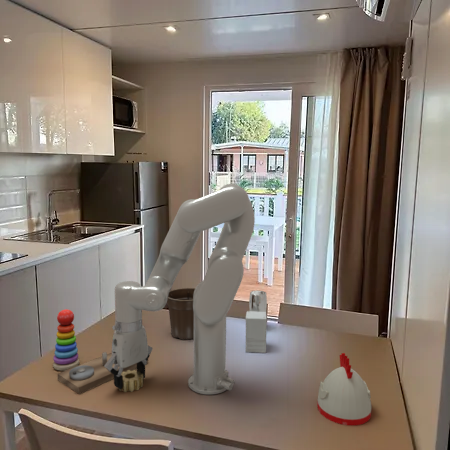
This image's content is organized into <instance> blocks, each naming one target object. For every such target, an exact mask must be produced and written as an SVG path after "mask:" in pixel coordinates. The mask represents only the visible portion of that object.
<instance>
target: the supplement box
mask: <svg viewBox="0 0 450 450" xmlns="http://www.w3.org/2000/svg"><path fill="white" fill-rule="evenodd" d="M267 318H268V317H267V311H266V312H255V311H250V310H247V311H246V313H245V353H260V354H261V353H262V354H266V353H267Z"/></svg>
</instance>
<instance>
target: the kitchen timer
mask: <svg viewBox="0 0 450 450" xmlns="http://www.w3.org/2000/svg"><path fill="white" fill-rule="evenodd" d="M339 365H340V366H339V367H337V368H335V369H333V370H332V371H330V373H329V374H327V376H326V377H325V378H324V380H323V381H321V380H320V383H319V387H318V396H317V400H316V403H317V405H316V407H317V411H318V412H319V414H320V415H322V416H323V417H324V418H325V419H327V420H329V421H331V422H333V423H336V424H339V425H344V426H360V425H364V424H365V423H367V422H369V421H370V419H371V417H372V402H371V390H369V387H368V385H367V383H366V381H365V380H364V379H363V377H361V375H360V374H359V373H358V372H357V371H355V370H354V369H353V368H352V365H351V364H350V358H349V357H348V355H346V353H345V352H343V353H341V354H340V355H339Z"/></svg>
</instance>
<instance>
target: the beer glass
mask: <svg viewBox="0 0 450 450" xmlns="http://www.w3.org/2000/svg"><path fill="white" fill-rule="evenodd" d="M267 298H268V297H267V292H266V291H264V290H257V289H256V290H252V291H251V290H250V291H249V300H248V301H249V303H248V305H249V306H248V307H249V311H255V312H266V313H267V303H268V300H267Z"/></svg>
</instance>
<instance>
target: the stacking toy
mask: <svg viewBox="0 0 450 450" xmlns="http://www.w3.org/2000/svg"><path fill="white" fill-rule="evenodd" d="M56 318H57V319H56V320H57V322H58V325H57V329H56V330H57V332H56V338H55V342H56V344H55V345H54V347H55V350H54V355H53V358H52V359H53V363H52V367H53V368H54V370H57V371H61V372H63V371H66V370H68V369H71V368H73V367H76V366H79V365H80V358H79V354H78V351H79V349H78V347H77V345H78V343H77V342H76V340H77V337H76V335H75V334H76V331H75V330H74V329H75V325H74V323H73V322H74V319H75V314H74V312H73V311H72V310H71V309H69V308H68V309H67V308H66V309H62V310H60V311H59V312H58V314H57V316H56Z"/></svg>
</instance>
